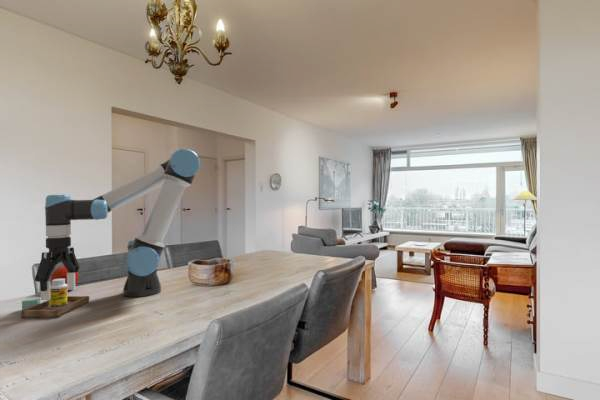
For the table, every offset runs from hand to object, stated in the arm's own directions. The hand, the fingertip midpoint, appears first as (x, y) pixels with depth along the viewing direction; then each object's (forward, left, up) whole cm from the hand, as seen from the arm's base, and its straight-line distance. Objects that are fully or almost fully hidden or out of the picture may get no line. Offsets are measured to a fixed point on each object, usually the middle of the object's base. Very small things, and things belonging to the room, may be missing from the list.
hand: (59, 294), depth 124 cm
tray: (0, 0, -5) cm, 6 cm away
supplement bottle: (0, 0, -5) cm, 5 cm away
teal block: (+10, 0, -6) cm, 11 cm away
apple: (+16, -27, -6) cm, 32 cm away
